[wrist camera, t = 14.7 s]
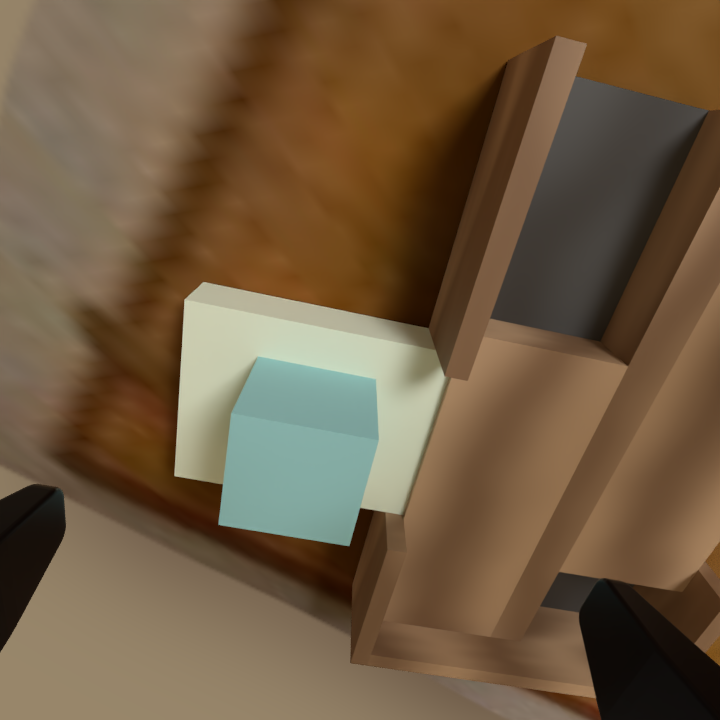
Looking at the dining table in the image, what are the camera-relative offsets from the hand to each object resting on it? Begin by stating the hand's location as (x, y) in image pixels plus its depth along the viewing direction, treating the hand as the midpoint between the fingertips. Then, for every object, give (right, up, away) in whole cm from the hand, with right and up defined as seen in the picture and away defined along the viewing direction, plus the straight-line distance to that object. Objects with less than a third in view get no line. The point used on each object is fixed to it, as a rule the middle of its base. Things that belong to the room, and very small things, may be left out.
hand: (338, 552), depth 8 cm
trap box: (+10, +1, +13) cm, 17 cm away
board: (-2, +2, +13) cm, 13 cm away
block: (-2, +1, +11) cm, 11 cm away
